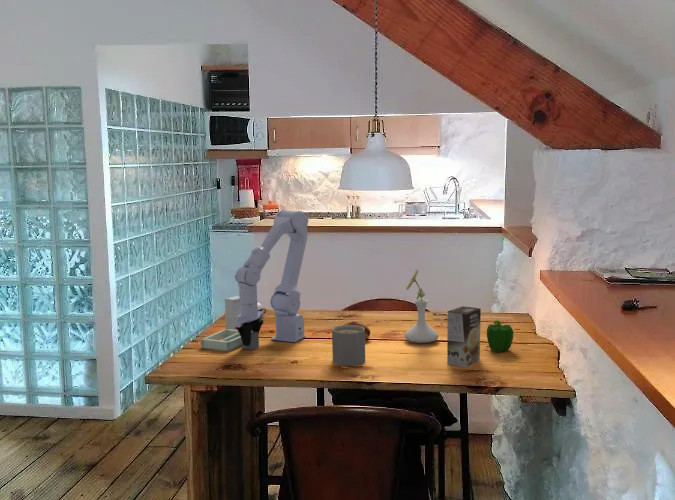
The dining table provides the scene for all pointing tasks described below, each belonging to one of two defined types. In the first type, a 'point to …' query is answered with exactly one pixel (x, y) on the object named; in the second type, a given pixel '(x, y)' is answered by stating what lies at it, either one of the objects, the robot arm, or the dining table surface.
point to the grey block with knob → (252, 341)
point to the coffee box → (463, 336)
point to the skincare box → (232, 311)
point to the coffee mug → (348, 345)
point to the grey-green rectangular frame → (222, 340)
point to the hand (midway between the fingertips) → (250, 343)
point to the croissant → (367, 330)
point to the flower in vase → (420, 319)
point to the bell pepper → (499, 336)
